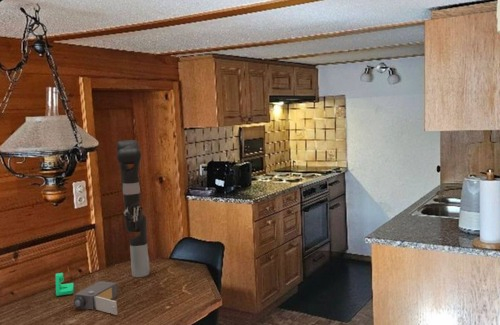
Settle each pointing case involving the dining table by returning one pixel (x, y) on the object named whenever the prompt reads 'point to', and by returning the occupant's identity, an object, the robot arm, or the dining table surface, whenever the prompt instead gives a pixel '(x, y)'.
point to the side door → (105, 305)
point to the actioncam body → (95, 294)
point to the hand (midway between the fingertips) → (134, 229)
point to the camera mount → (63, 286)
